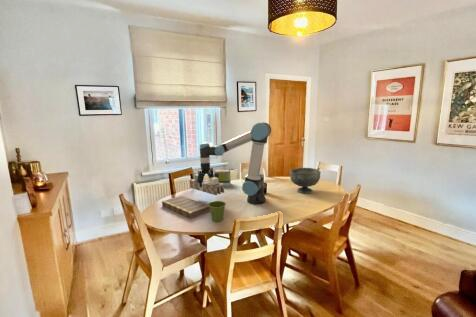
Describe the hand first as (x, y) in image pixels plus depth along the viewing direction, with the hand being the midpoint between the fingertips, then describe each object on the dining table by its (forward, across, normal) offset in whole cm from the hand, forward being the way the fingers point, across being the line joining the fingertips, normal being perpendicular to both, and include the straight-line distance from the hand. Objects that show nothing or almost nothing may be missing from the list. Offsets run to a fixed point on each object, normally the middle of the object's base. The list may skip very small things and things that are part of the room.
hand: (206, 189), depth 202 cm
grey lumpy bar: (+1, 0, 0) cm, 1 cm away
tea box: (+10, -42, -24) cm, 50 cm away
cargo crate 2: (-6, 0, +9) cm, 11 cm away
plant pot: (+11, +19, +32) cm, 39 cm away
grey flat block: (+10, +21, 0) cm, 23 cm away
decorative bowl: (+12, -75, +48) cm, 90 cm away
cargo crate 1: (-7, 0, -9) cm, 11 cm away
